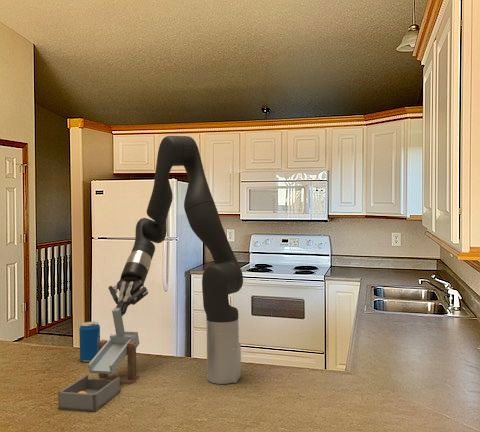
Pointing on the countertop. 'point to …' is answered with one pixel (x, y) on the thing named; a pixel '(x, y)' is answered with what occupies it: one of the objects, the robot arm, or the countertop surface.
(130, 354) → the stand
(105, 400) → the shallow gray tray
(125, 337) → the chute
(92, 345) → the beverage can
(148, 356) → the countertop surface
